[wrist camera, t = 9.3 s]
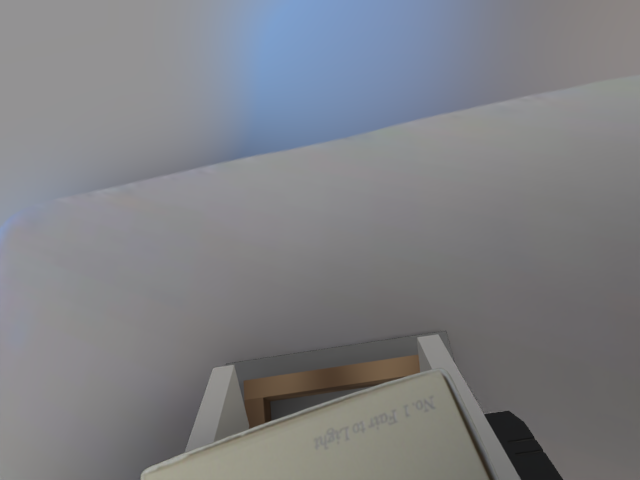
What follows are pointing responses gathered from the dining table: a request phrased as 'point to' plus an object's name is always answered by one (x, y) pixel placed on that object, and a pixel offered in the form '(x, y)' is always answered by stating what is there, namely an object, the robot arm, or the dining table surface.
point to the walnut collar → (321, 383)
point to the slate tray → (322, 361)
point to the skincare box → (351, 440)
